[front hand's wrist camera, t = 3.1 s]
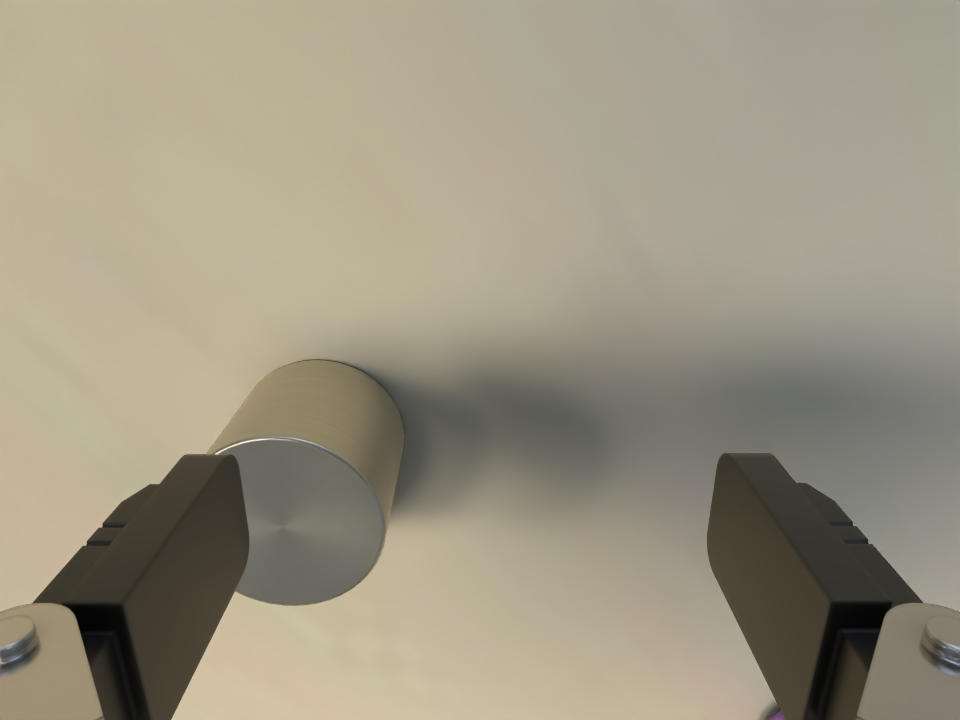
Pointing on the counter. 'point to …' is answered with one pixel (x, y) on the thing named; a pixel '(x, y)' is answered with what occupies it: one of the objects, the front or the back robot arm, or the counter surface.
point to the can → (314, 479)
